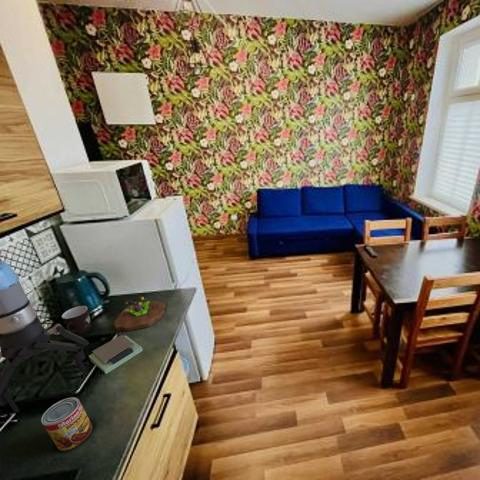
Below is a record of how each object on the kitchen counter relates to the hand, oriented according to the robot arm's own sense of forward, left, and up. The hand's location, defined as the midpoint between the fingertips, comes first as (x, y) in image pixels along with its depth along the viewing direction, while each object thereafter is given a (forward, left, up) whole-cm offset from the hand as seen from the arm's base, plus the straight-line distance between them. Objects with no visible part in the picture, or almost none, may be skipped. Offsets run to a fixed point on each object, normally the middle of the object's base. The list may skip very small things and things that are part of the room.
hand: (51, 387), depth 71 cm
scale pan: (-23, +20, -16) cm, 35 cm away
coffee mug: (-53, +18, -20) cm, 59 cm away
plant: (-40, +38, -20) cm, 59 cm away
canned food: (0, -1, -20) cm, 20 cm away
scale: (-23, +20, -20) cm, 36 cm away
